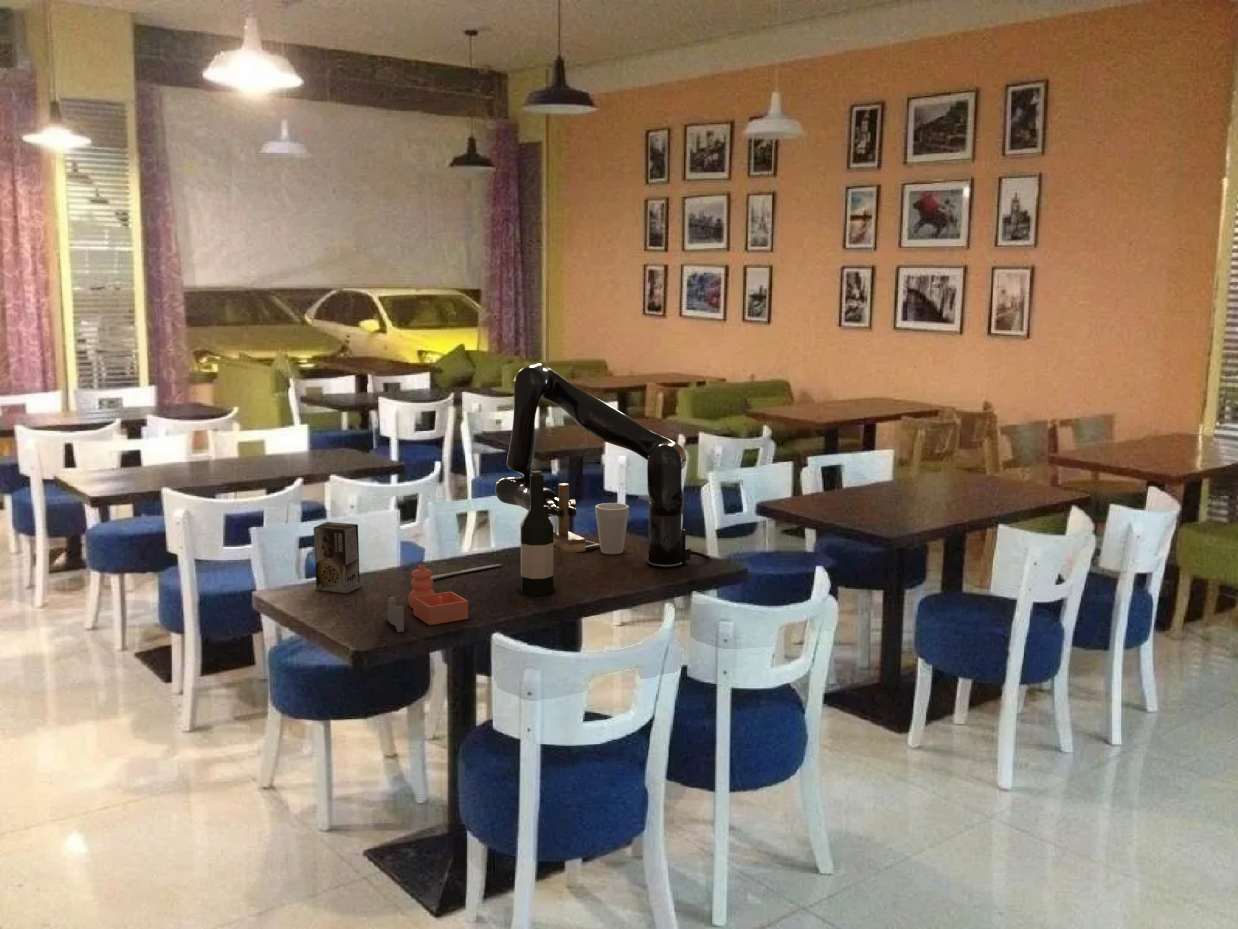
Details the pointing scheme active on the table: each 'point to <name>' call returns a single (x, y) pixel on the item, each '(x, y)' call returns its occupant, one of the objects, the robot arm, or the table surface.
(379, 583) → the table surface
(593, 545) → the cell phone
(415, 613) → the pottery
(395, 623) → the grey stepped plate
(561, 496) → the brush
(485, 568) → the butter knife
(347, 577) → the coffee box
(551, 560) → the wine bottle
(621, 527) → the foam cup
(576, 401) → the robot arm
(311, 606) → the table surface
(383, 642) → the table surface
